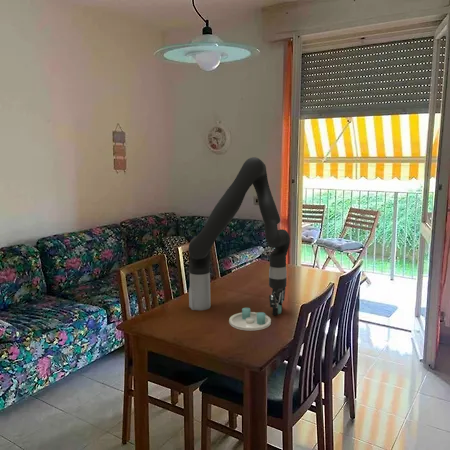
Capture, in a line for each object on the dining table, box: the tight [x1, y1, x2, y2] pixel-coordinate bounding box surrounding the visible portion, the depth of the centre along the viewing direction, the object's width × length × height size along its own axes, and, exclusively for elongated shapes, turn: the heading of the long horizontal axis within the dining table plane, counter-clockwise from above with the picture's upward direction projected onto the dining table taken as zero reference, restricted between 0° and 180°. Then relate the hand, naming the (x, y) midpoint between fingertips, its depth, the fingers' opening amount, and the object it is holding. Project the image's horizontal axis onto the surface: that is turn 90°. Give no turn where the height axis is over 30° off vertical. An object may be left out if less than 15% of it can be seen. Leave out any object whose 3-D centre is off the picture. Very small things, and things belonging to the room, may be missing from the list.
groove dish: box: [228, 311, 272, 332], centre depth 176 cm, size 17×17×2 cm
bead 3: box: [278, 304, 282, 315], centre depth 186 cm, size 4×4×4 cm
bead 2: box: [256, 311, 266, 325], centre depth 175 cm, size 4×4×4 cm
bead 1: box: [241, 307, 251, 320], centre depth 180 cm, size 4×4×4 cm
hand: (277, 313), depth 186 cm, fingers open, 4 cm apart
